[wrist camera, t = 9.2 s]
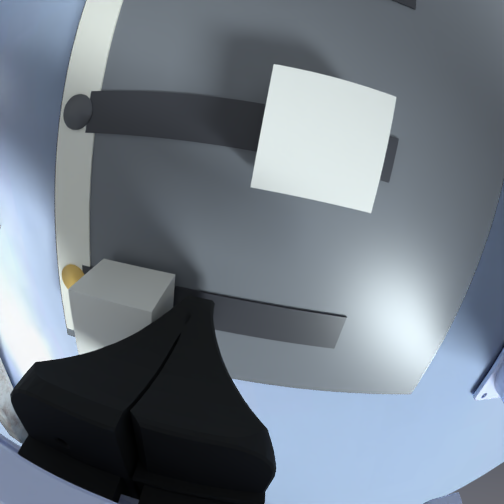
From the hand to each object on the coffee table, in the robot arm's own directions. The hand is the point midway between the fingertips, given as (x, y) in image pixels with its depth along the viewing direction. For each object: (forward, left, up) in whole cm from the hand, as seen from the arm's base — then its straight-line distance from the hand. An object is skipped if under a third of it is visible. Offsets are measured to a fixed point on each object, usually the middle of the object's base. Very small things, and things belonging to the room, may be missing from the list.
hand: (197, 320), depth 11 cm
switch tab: (+3, 0, 0) cm, 3 cm away
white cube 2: (-3, -7, 0) cm, 8 cm away
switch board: (-2, -7, -3) cm, 8 cm away
